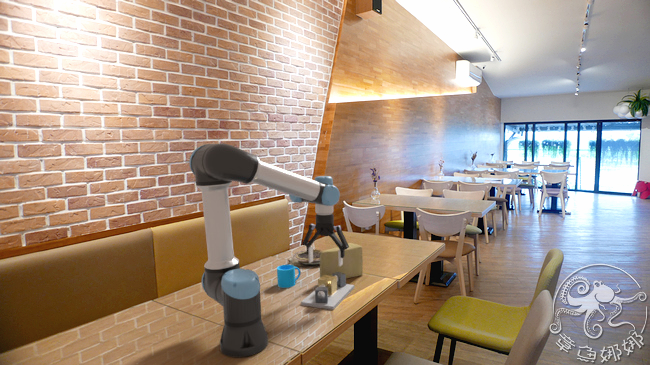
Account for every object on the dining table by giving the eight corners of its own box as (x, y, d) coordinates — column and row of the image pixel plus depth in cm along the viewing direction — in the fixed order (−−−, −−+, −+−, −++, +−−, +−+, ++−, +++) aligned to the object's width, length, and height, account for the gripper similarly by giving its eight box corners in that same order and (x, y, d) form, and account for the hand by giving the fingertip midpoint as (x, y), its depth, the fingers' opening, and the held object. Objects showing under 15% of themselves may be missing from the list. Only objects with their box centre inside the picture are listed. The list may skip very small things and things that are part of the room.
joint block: (337, 289, 161) (336, 276, 160) (331, 295, 156) (331, 281, 155) (324, 288, 163) (323, 274, 163) (318, 293, 158) (318, 279, 157)
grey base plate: (333, 309, 144) (333, 306, 144) (301, 304, 150) (301, 301, 150) (354, 287, 166) (354, 284, 166) (325, 284, 172) (325, 281, 172)
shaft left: (327, 303, 148) (327, 290, 147) (315, 303, 148) (315, 290, 148) (328, 296, 155) (328, 284, 154) (317, 296, 155) (316, 284, 155)
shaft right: (338, 282, 170) (337, 271, 169) (346, 285, 166) (345, 273, 166) (327, 287, 165) (327, 275, 164) (335, 289, 161) (335, 278, 161)
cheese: (327, 287, 168) (326, 254, 167) (314, 281, 176) (313, 250, 175) (363, 275, 182) (363, 245, 180) (350, 270, 189) (349, 241, 188)
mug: (283, 289, 168) (282, 271, 167) (274, 284, 174) (273, 267, 173) (305, 282, 175) (305, 265, 174) (295, 278, 181) (295, 261, 181)
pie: (317, 252, 226) (317, 244, 225) (347, 263, 204) (347, 254, 204) (277, 262, 209) (277, 253, 208) (305, 275, 187) (305, 265, 187)
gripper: (356, 213, 154) (356, 264, 156) (302, 210, 164) (303, 258, 166) (349, 216, 147) (350, 269, 149) (293, 213, 157) (295, 263, 159)
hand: (325, 263), depth 158 cm, fingers open, 13 cm apart
